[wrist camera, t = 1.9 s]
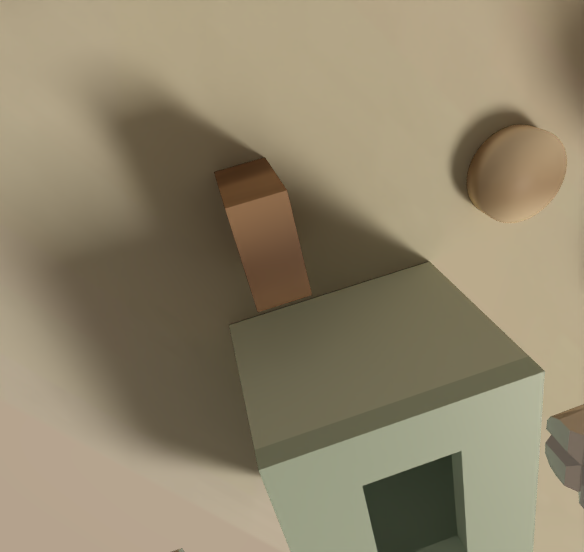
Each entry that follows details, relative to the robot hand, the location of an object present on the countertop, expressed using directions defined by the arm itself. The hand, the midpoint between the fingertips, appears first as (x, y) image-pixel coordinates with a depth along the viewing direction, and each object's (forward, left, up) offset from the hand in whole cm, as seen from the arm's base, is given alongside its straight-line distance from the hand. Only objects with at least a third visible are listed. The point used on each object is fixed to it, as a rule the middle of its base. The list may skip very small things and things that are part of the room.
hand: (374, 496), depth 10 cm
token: (0, 0, -17) cm, 17 cm away
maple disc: (+2, +14, -17) cm, 22 cm away
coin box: (+13, +3, -17) cm, 21 cm away
